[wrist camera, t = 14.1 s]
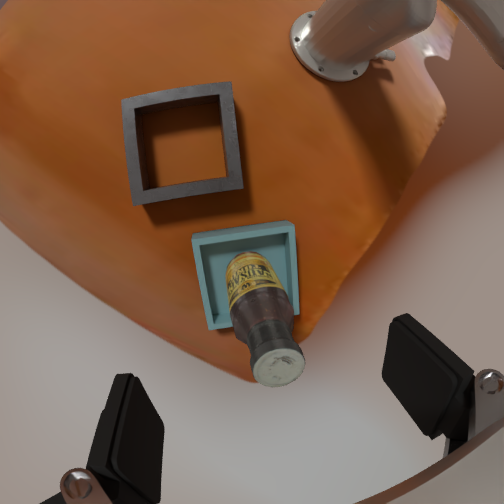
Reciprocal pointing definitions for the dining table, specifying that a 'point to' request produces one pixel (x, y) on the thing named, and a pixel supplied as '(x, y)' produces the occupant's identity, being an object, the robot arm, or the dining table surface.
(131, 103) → the steel collar
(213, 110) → the dining table surface
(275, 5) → the dining table surface
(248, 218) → the dining table surface
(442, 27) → the dining table surface
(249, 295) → the sauce bottle
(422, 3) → the robot arm
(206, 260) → the teal tray
